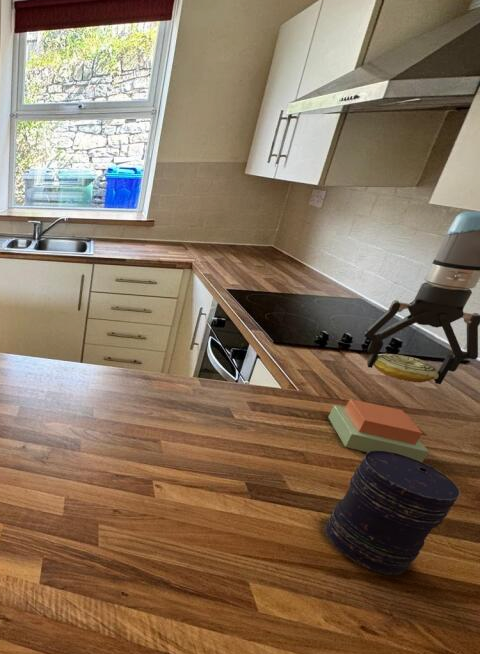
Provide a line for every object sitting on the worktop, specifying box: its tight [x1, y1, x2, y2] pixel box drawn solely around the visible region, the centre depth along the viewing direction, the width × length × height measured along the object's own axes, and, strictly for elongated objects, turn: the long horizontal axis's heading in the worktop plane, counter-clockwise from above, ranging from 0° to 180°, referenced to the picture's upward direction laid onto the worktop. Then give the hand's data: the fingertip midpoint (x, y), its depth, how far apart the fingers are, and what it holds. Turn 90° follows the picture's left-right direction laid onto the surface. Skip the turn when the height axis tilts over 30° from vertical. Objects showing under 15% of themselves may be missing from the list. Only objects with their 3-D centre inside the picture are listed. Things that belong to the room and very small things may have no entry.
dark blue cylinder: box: [324, 451, 461, 576], centre depth 60 cm, size 10×10×15 cm
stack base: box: [327, 404, 430, 463], centre depth 87 cm, size 12×12×4 cm
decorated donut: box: [373, 353, 439, 384], centre depth 96 cm, size 10×11×4 cm
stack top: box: [345, 398, 423, 445], centre depth 86 cm, size 9×9×3 cm
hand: (402, 373), depth 97 cm, fingers closed on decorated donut, 11 cm apart
